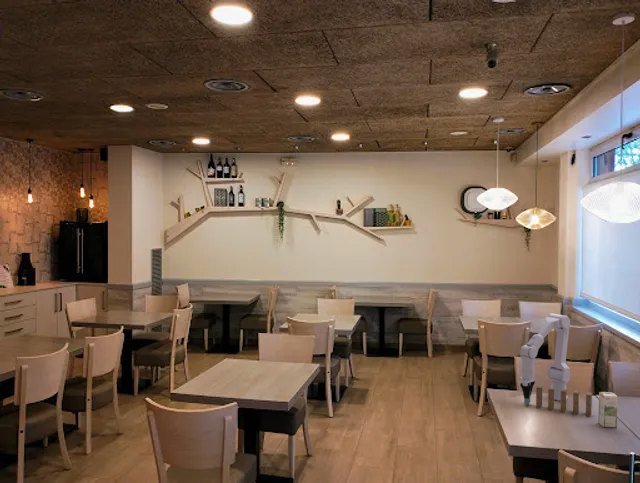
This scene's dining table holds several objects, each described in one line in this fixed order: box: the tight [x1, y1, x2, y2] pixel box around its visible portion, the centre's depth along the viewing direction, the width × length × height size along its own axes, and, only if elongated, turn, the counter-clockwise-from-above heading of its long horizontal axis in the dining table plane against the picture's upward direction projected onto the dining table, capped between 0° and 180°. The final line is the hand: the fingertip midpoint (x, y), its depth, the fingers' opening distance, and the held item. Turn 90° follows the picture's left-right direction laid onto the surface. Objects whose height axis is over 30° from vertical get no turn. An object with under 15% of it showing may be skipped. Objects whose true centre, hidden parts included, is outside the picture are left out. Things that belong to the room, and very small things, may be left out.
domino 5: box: [572, 389, 580, 415], centre depth 259 cm, size 5×2×10 cm, turn 149°
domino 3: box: [547, 386, 555, 411], centre depth 264 cm, size 5×2×10 cm, turn 149°
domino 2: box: [535, 384, 543, 409], centre depth 267 cm, size 5×2×10 cm, turn 149°
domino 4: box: [559, 388, 567, 413], centre depth 262 cm, size 5×2×10 cm, turn 149°
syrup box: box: [597, 391, 619, 429], centre depth 242 cm, size 6×6×14 cm
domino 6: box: [585, 392, 593, 418], centre depth 256 cm, size 5×2×10 cm, turn 149°
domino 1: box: [523, 382, 532, 405], centre depth 270 cm, size 5×2×10 cm, turn 149°
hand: (527, 396), depth 270 cm, fingers closed on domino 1, 5 cm apart
